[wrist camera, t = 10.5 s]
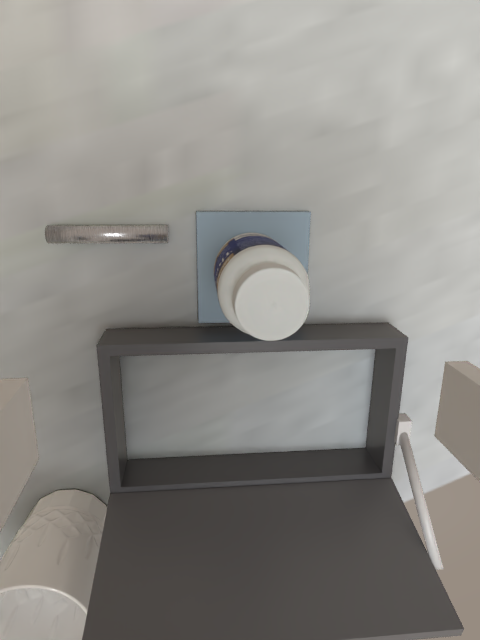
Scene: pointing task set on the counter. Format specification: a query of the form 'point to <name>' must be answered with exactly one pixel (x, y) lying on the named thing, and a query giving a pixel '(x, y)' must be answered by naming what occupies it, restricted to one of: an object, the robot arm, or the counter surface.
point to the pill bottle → (261, 287)
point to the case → (266, 519)
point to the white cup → (51, 568)
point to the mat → (225, 225)
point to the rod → (106, 234)
